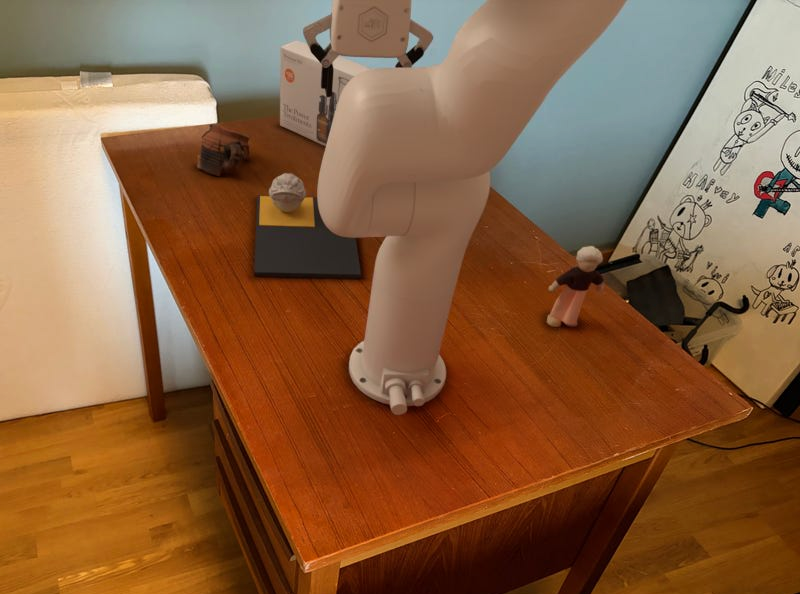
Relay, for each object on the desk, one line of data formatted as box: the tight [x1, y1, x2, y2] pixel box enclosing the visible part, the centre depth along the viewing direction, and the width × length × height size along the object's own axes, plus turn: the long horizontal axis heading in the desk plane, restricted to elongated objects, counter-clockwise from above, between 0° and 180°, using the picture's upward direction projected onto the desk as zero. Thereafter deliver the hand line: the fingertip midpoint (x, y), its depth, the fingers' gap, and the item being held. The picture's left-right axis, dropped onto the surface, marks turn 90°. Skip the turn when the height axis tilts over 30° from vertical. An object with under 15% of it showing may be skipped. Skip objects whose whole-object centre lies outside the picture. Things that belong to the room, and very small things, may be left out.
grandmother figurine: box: [546, 245, 605, 328], centre depth 96 cm, size 8×4×13 cm, turn 105°
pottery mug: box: [196, 123, 251, 177], centre depth 125 cm, size 12×10×8 cm
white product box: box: [279, 40, 372, 147], centre depth 131 cm, size 21×5×16 cm, turn 50°
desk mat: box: [253, 195, 362, 280], centre depth 111 cm, size 22×16×1 cm
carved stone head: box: [268, 172, 307, 212], centre depth 113 cm, size 6×7×7 cm
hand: (362, 94), depth 97 cm, fingers open, 9 cm apart
